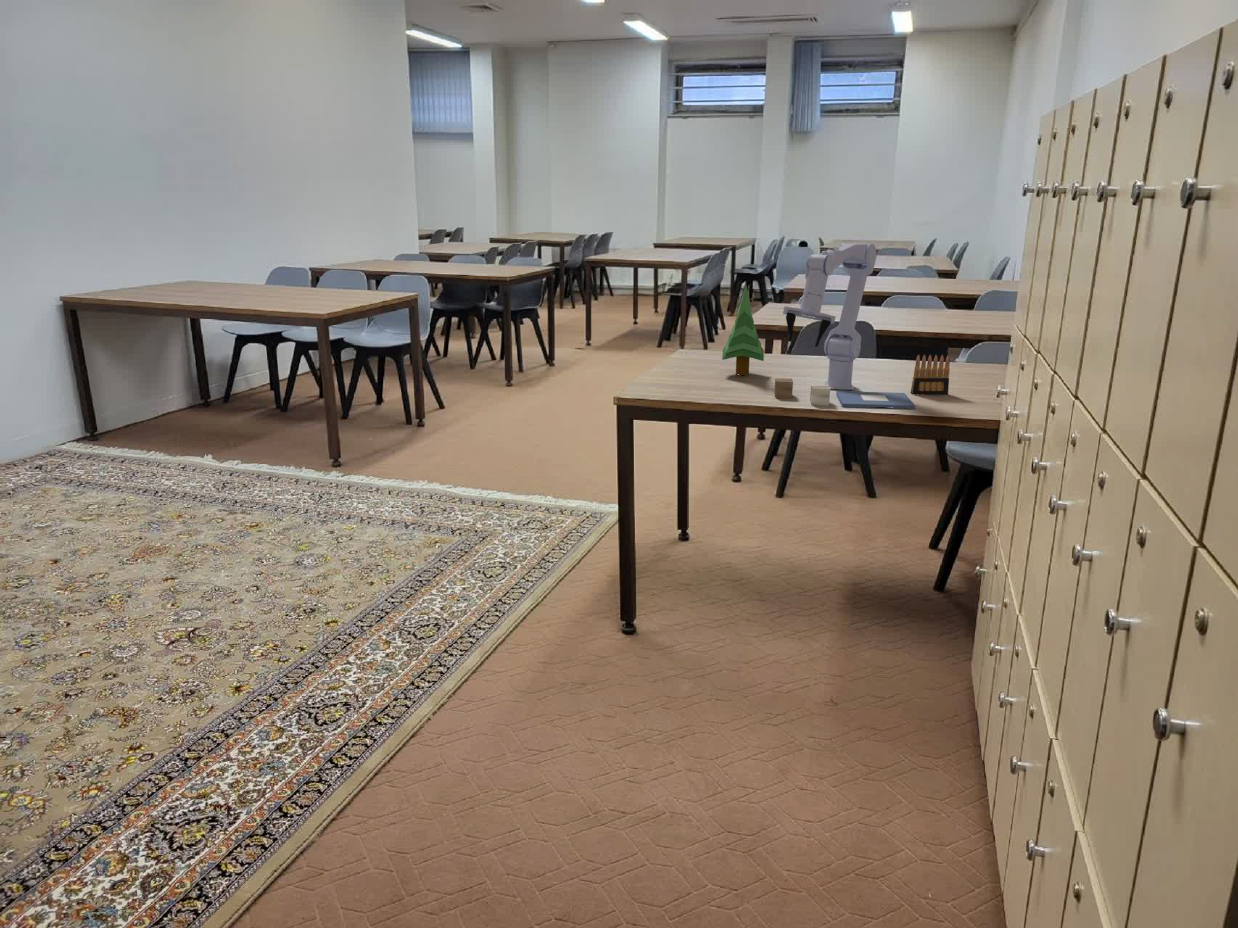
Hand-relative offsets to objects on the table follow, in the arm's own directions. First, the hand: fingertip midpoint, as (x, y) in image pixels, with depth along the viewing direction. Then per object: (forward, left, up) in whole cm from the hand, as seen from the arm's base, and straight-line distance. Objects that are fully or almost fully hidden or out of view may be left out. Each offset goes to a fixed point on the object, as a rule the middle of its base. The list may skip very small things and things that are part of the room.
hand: (802, 343), depth 249 cm
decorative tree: (-39, -16, -18) cm, 46 cm away
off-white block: (-1, +6, -17) cm, 19 cm away
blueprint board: (-5, +22, -17) cm, 28 cm away
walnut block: (-9, -4, -17) cm, 20 cm away
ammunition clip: (-17, +40, -18) cm, 47 cm away
